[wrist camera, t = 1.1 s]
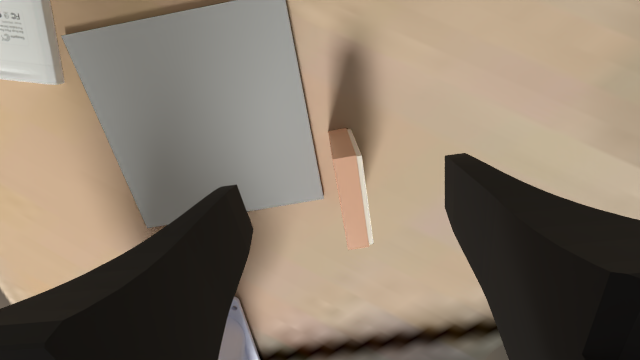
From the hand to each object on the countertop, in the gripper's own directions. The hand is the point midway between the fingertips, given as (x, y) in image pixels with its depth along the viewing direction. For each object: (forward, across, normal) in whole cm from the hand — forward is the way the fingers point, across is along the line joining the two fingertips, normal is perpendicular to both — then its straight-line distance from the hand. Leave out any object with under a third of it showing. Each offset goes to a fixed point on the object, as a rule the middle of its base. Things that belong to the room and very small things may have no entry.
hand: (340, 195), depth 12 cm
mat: (+12, +10, 0) cm, 15 cm away
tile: (+12, 0, +6) cm, 13 cm away
